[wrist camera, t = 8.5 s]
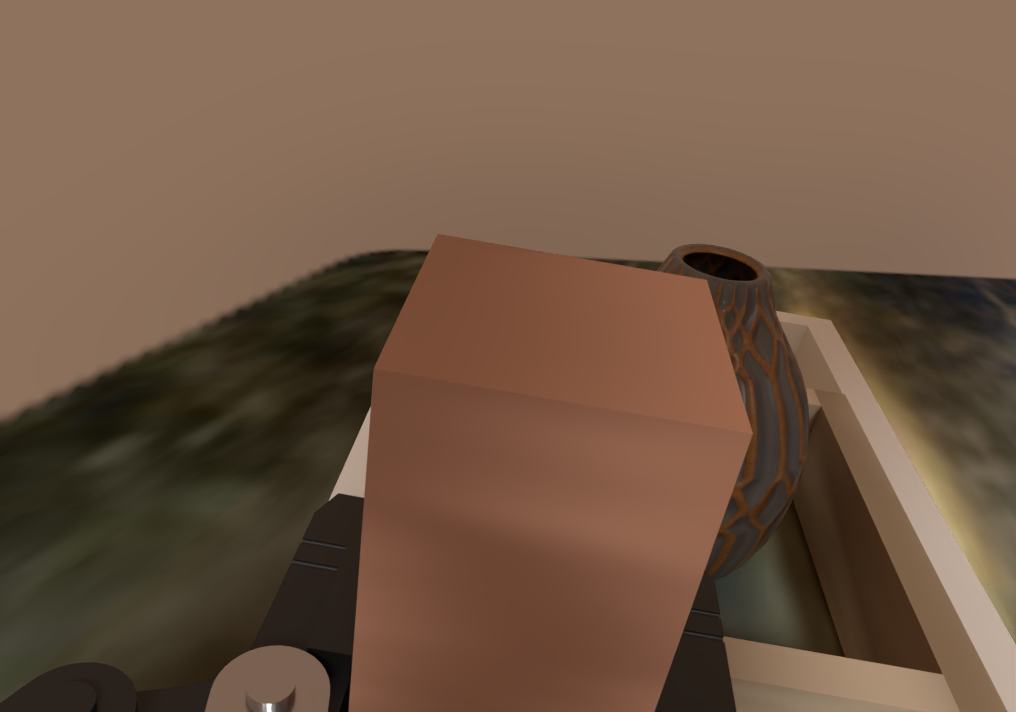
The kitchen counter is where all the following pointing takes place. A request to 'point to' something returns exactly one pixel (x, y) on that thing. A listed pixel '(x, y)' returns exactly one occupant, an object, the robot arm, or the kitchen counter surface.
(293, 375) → the kitchen counter surface
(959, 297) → the kitchen counter surface
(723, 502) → the square wooden tray
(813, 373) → the rail lane
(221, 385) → the kitchen counter surface
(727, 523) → the vase
